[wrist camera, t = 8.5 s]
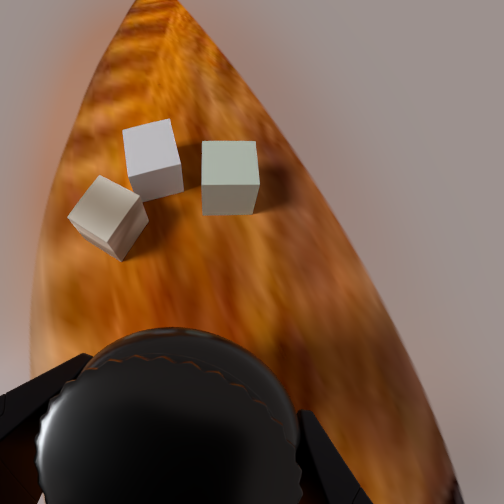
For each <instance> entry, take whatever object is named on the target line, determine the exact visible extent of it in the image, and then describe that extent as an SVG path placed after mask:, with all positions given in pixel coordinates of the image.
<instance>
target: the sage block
mask: <svg viewBox="0 0 504 504" xmlns="http://www.w3.org/2000/svg"><path fill="white" fill-rule="evenodd" d="M259 186H260V181H259V171H258V161H257V152H256V143H255V141H202V211H203V215H252V214H253V210H254V206H255V202H256V198H257V194H258V190H259Z"/></svg>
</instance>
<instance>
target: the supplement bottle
mask: <svg viewBox="0 0 504 504" xmlns="http://www.w3.org/2000/svg"><path fill="white" fill-rule="evenodd" d="M34 443H35V449H36V453H35V456H34V460H33V461H34V464H35V467H36V470H37V472H38V478H37V483H38V485H39V487H40V489H41V490H42V492H43V493H44V496H45V502H46V504H298V503H299V502H300V500H301V498H302V495H303V491H302V488H301V486H300V485H299V482H300V479H301V474H302V469H301V467H300V466H299V463H300V457H301V432H300V425H299V421H298V417H297V414H296V411H295V408H294V405H293V403H292V401H291V399H290V396H289V395H288V393H287V391H286V389H285V388H284V386H283V385H282V383H281V382H280V381H279V379H278V378H277V376H276V375H275V374H274V373H273V372H272V371H271V370H270V369H269V367H267V366H266V365H265V364H264V363H263V362H262V361H261V360H260V359H259V358H257V357H256V356H255V355H254V354H252V353H251V352H249V351H248V350H246V349H245V348H243V347H242V346H240V345H238V344H236V343H234V342H232V341H231V340H228V339H226V338H224V337H221V336H219V335H216V334H213V333H209V332H206V331H201V330H197V329H191V328H183V327H162V328H154V329H147V330H143V331H139V332H136V333H133V334H130V335H127V336H125V337H123V338H120V339H118V340H116V341H115V342H113V343H111V344H110V345H108V346H106V347H105V348H104V349H102V350H101V351H100V352H98V353H97V354H96V355H95V356H94V357H93V358H92V359H91V360H90V361H89V362H88V363H87V364H86V365H85V367H84V368H83V369H82V371H81V372H80V374H79V375H78V377H77V378H76V380H71V381H68V382H66V383H65V384H64V386H63V388H62V390H61V392H60V394H59V395H56V396H54V397H53V398H51V399H50V401H49V405H48V409H47V412H46V413H45V414H43V415H42V416H41V417H40V420H39V432H38V434H37V435H36V436H35V438H34Z"/></svg>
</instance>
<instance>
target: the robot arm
mask: <svg viewBox="0 0 504 504" xmlns="http://www.w3.org/2000/svg"><path fill="white" fill-rule="evenodd" d="M92 358H93V356H91V355H88V354H86V353H82V354H80V355H78V356H76V357H74V358H72V359H70V360H68V361H66V362H64V363H62V364H61V365H59V366H57V367H55V368H53V369H51V370H49V371H47V372H45V373H43V374H42V375H40V376H38V377H36V378H34V379H32V380H30V381H28V382H26V383H24V384H22V385H20V386H19V387H17V388H15V389H13V390H11V391H9V392H7V393H6V394H3V395H1V396H0V504H37V503H38V501H39V499H40V497H41V494H42V490H41V489H40V487H39V485H38V483H37V478H38V472H37V470H36V467H35V464H34V461H33V460H34V456H35V453H36V449H35V443H34V438H35V436H36V435H37V434H38V432H39V420H40V417H41V416H42V415H43V414H45V413H46V412H47V409H48V405H49V401H50V399H51V398H53V397H54V396H56V395H59V394H60V392H61V390H62V388H63V386H64V384H65V383H66V382H68V381H71V380H76V378H77V377H78V375H79V374H80V372H81V371H82V369H83V368H84V367H85V365H86V364H87V363H88V362H89V361H90V360H91V359H92ZM297 417H298V421H299V425H300V432H301V457H300V463H299V466H300V467H301V469H302V474H301V479H300V482H299V485H300V486H301V488H302V491H303V495H302V498H301V500H300V502H299V503H298V504H373V503H372V501H371V500H370V499H369V497H368V496H367V495H366V493H365V492H364V490H363V489H362V487H360V484H359V483H358V481H357V480H356V478H355V477H354V475H353V474H352V472H351V471H350V469H349V468H348V466H347V465H346V463H345V462H344V460H343V459H342V457H341V456H340V454H339V453H338V451H337V449H336V448H335V446H334V445H333V443H332V442H331V440H330V439H329V437H328V436H327V434H326V432H325V431H324V429H323V428H322V426H321V425H320V423H319V421H318V420H317V418H316V417H315V415H314V414H313V412H312V411H310V410H303V409H300V410H299V411H298V412H297Z"/></svg>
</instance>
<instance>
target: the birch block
mask: <svg viewBox="0 0 504 504" xmlns="http://www.w3.org/2000/svg"><path fill="white" fill-rule="evenodd" d="M67 218H68V219H69V220H70V221H71V223H72V224H73V225H74V226H75V228H76V229H77V230H78V231H79V232H80V234H81V235H82V236H83V237H84V238H85V239H86V240H87V241H89V242H90V243H92V244H93V245H95V246H96V247H98V248H100V249H101V250H103V251H104V252H106V253H108V254H109V255H111V256H112V257H114V258H116V259H117V260H119V261H121V262H122V261H123V259H124V258H125V256H126V254H127V253H128V251H129V250H130V248H131V247H132V245H133V244H134V242H135V241H136V239H137V238H138V236H139V235H140V233H141V232H142V230H143V229H144V228H145V226H146V225H147V223H148V222H149V220H148V217H147V214H146V211H145V209H144V206H143V203H142V200H141V197H140V196H139V195H137V194H135V193H133V192H132V191H130V190H128V189H126V188H124V187H122V186H120V185H118V184H116V183H114V182H112V181H110V180H108V179H106V178H104V177H102V176H101V175H99V176H98V177H97V179H96V180H95V181H94V182H93V184H92V185H91V186H90V187H89V189H88V190H87V191H86V193H85V194H84V195H83V197H82V198H81V199H80V200H79V202H78V203H77V204H76V206H75V207H74V209H73V210H72V211H71V213H70V214H69V215H68V217H67Z"/></svg>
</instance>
